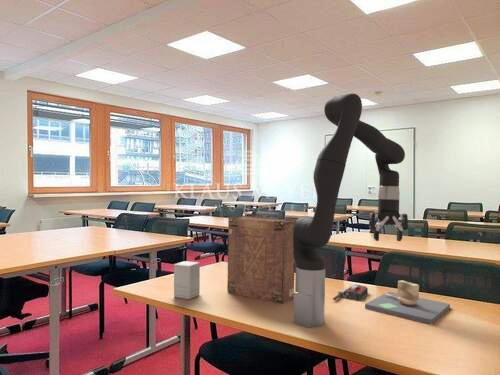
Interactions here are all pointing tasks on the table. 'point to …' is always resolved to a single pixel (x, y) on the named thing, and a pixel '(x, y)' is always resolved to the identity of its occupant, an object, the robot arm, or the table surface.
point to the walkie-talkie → (353, 292)
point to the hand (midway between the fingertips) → (387, 240)
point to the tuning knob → (407, 293)
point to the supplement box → (186, 279)
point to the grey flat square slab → (409, 308)
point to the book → (261, 258)
